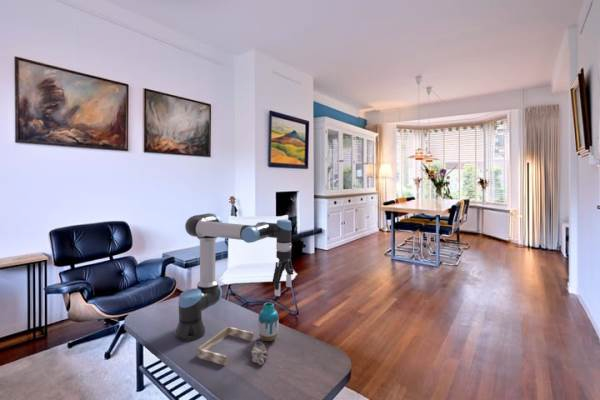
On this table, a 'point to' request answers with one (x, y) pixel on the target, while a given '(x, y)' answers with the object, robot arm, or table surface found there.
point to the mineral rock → (259, 353)
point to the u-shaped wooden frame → (216, 357)
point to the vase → (268, 322)
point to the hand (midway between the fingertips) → (283, 291)
